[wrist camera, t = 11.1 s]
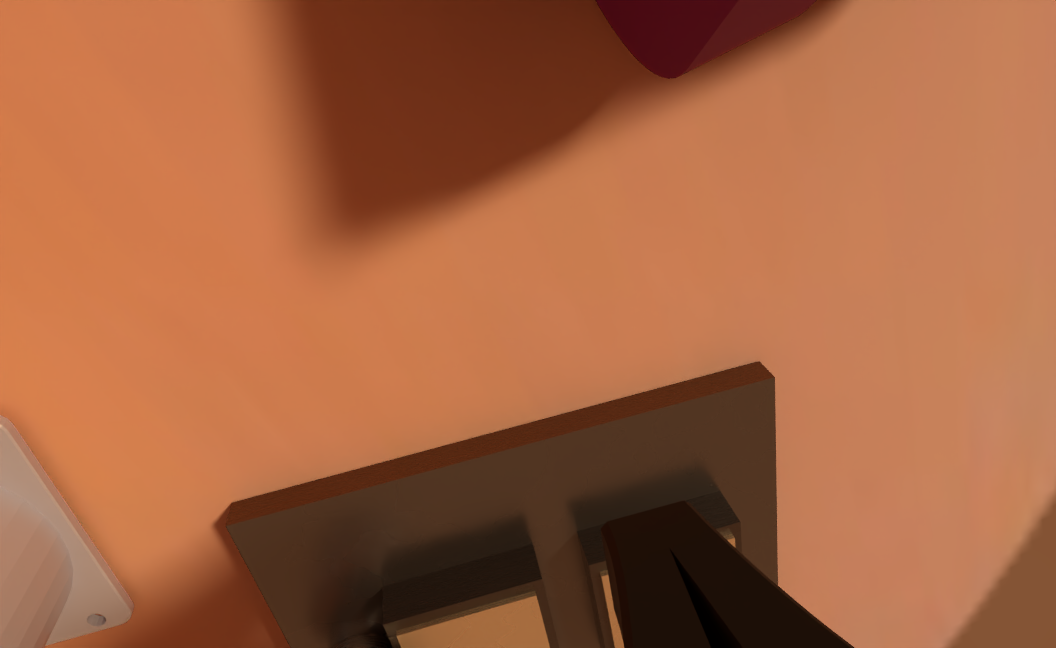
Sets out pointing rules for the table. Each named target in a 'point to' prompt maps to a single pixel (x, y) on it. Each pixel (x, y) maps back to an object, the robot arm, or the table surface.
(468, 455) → the tray
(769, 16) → the mounting bracket
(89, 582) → the robot arm
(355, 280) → the table surface
